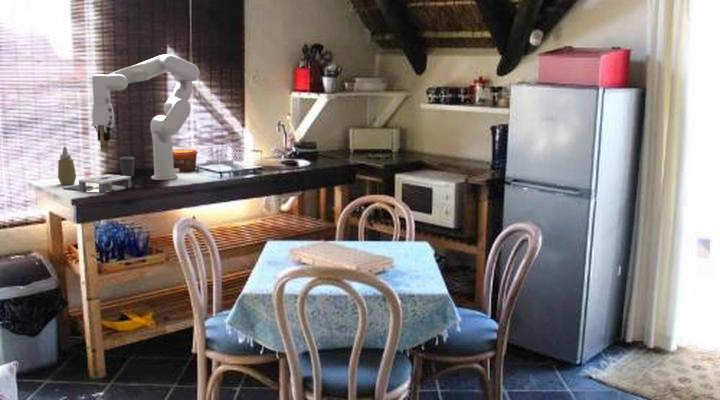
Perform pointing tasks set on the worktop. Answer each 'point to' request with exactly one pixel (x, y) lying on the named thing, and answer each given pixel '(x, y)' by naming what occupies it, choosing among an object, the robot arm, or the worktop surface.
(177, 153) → the food container
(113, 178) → the small grey pallet
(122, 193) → the worktop surface
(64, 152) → the squeeze bottle
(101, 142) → the dowel
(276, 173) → the worktop surface
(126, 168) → the coffee cup
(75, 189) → the mat
